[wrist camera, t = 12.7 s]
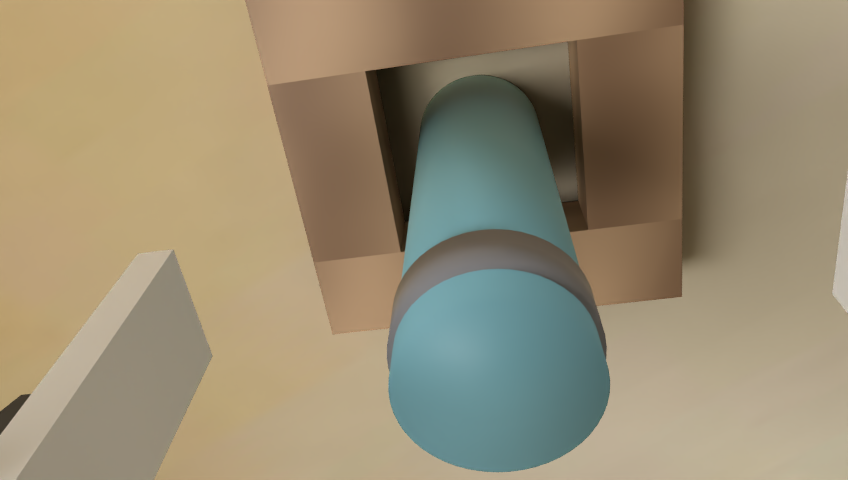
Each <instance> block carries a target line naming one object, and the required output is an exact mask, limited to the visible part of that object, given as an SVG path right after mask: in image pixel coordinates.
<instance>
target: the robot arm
mask: <svg viewBox="0 0 848 480" xmlns="http://www.w3.org/2000/svg"><path fill="white" fill-rule="evenodd" d="M832 294H833V296H834V297H835V298H836V299H837V301H838V302H839V303H840V304H841V306H842V307H843V308H844V310H845V311H846V312H847V313H848V173H847V181H846V189H845V197H844V205H843V213H842V221H841V229H840V236H839V244H838V252H837V260H836V268H835V276H834V284H833V292H832ZM211 358H212V353H211V351H210V348H209V345H208V343H207V340H206V337H205V334H204V332H203V329H202V326H201V323H200V321H199V318H198V315H197V313H196V310H195V307H194V304H193V302H192V299H191V296H190V294H189V291H188V288H187V285H186V283H185V280H184V277H183V275H182V272H181V269H180V266H179V264H178V261H177V258H176V255H175V253H174V250H173V249H172V250H163V251H155V252H147V253H138V254H137V256H136V257H135V258H134V259H133V261H132V262H131V263H130V265H129V266H128V267H127V269H126V270H125V271H124V273H123V274H122V275H121V277H120V278H119V279H118V281H117V282H116V283H115V284H114V286H113V287H112V288H111V290H110V291H109V292H108V294H107V295H106V296H105V298H104V299H103V300H102V302H101V303H100V304H99V306H98V307H97V308H96V309H95V311H94V312H93V313H92V315H91V316H90V317H89V319H88V320H87V321H86V323H85V324H84V325H83V327H82V328H81V329H80V331H79V332H78V333H77V335H76V336H75V337H74V338H73V340H72V341H71V342H70V344H69V345H68V346H67V348H66V349H65V350H64V352H63V353H62V354H61V356H60V357H59V358H58V360H57V361H56V362H55V363H54V365H53V366H52V367H51V369H50V370H49V371H48V373H47V374H46V375H45V377H44V378H43V379H42V381H41V382H40V383H39V385H38V386H37V387H36V388H35V390H34V391H33V392H32V394H26V395H21V396H19V397H18V398H17V399H16V400H14V401H13V402H12V403H10V404H9V405H8V406H7V407H5V408H4V409H3V410H2V411H0V480H154V478H155V476H156V474H157V472H158V470H159V468H160V465H161V463H162V461H163V459H164V457H165V455H166V453H167V451H168V449H169V446H170V444H171V442H172V440H173V438H174V436H175V434H176V432H177V430H178V427H179V425H180V423H181V421H182V419H183V417H184V415H185V413H186V411H187V408H188V406H189V404H190V402H191V400H192V398H193V396H194V394H195V392H196V389H197V387H198V385H199V383H200V381H201V379H202V377H203V375H204V373H205V370H206V368H207V366H208V364H209V362H210V360H211Z"/></svg>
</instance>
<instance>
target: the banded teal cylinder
mask: <svg viewBox="0 0 848 480" xmlns="http://www.w3.org/2000/svg"><path fill="white" fill-rule="evenodd" d="M606 347H607V346H606V339H605V333H604V330H603V327H602V323H601V320H600V316H599V313H598V310H597V306H596V303H595V299H594V296H593V293H592V290H591V286H590V284H589V282H588V280H587V278H586V276H585V274H584V273H583V271H582V270H581V268H580V267H579V263H578V260H577V256H576V253H575V249H574V246H573V242H572V238H571V235H570V231H569V228H568V224H567V221H566V217H565V214H564V210H563V207H562V203H561V200H560V196H559V192H558V189H557V185H556V182H555V178H554V175H553V171H552V168H551V164H550V161H549V157H548V153H547V150H546V146H545V143H544V139H543V136H542V132H541V129H540V125H539V122H538V118H537V115H536V112H535V109H534V107H533V105H532V103H531V102H530V100H529V99H528V97H527V96H526V95H525V94H524V93H523V92H522V91H521V90H520V89H519V88H518V87H516V86H515V85H513V84H512V83H510V82H508V81H506V80H503V79H500V78H497V77H493V76H485V75H477V76H469V77H464V78H461V79H458V80H456V81H454V82H452V83H450V84H448V85H447V86H445V87H444V88H442V89H441V90H440V91H439V92H438V93H437V94H436V95H435V96H434V97H433V98H432V100H431V101H430V103H429V104H428V106H427V108H426V110H425V112H424V115H423V118H422V122H421V128H420V136H419V144H418V152H417V160H416V168H415V176H414V184H413V192H412V200H411V208H410V216H409V223H408V231H407V239H406V247H405V255H404V263H403V271H402V279H401V281H400V283H399V285H398V288H397V291H396V294H395V297H394V302H393V308H392V315H391V322H390V329H389V337H388V344H387V361H388V368H389V372H390V374H389V398H390V403H391V407H392V410H393V413H394V415H395V417H396V419H397V421H398V423H399V424H400V426H401V427H402V429H403V430H404V432H405V433H406V434H407V435H408V436H409V437H410V438H411V439H412V440H413V441H414V442H415V443H416V444H417V445H418V446H420V447H421V448H422V449H423V450H425V451H426V452H428V453H429V454H431V455H433V456H434V457H436V458H438V459H440V460H442V461H445V462H447V463H450V464H453V465H455V466H459V467H462V468H466V469H471V470H477V471H485V472H511V471H518V470H525V469H529V468H533V467H537V466H540V465H543V464H546V463H549V462H551V461H553V460H555V459H557V458H560V457H561V456H563V455H565V454H566V453H568V452H570V451H571V450H573V449H574V448H575V447H577V446H578V445H579V444H580V443H582V442H583V441H584V440H585V439H586V438H587V437H588V436H589V435H590V434H591V432H592V431H593V430H594V428H595V427H596V426H597V425H598V423H599V421H600V419H601V418H602V416H603V414H604V411H605V409H606V406H607V403H608V398H609V393H610V377H609V370H608V366H607V362H606Z"/></svg>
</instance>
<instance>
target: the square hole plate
mask: <svg viewBox="0 0 848 480" xmlns="http://www.w3.org/2000/svg"><path fill="white" fill-rule="evenodd" d="M245 2H246V6H247V9H248V13H249V17H250V21H251V25H252V28H253V32H254V36H255V40H256V44H257V48H258V51H259V55H260V59H261V63H262V67H263V70H264V74H265V78H266V82H267V86H268V89H269V93H270V97H271V101H272V105H273V109H274V112H275V116H276V120H277V124H278V128H279V131H280V135H281V139H282V143H283V147H284V151H285V154H286V158H287V162H288V166H289V170H290V173H291V177H292V181H293V185H294V189H295V193H296V196H297V200H298V204H299V208H300V212H301V215H302V219H303V223H304V227H305V231H306V234H307V238H308V242H309V246H310V250H311V254H312V257H313V261H314V265H315V269H316V273H317V276H318V280H319V284H320V288H321V292H322V296H323V299H324V303H325V307H326V311H327V315H328V318H329V322H330V326H331V330H332V334H340V333H349V332H358V331H368V330H377V329H386V328H390V322H391V315H392V308H393V302H394V297H395V294H396V291H397V288H398V285H399V283H400V281H401V279H402V271H403V263H404V255H405V247H406V239H407V231H408V223H409V222H405V221H404V215H403V210H402V205H401V200H400V194H399V189H398V184H397V179H396V173H395V168H394V163H393V158H392V152H391V147H390V142H389V136H388V131H387V126H386V121H385V115H384V110H383V105H382V100H381V94H380V89H379V84H378V79H377V73H376V70H377V69H383V68H390V67H397V66H404V65H411V64H418V63H424V62H431V61H438V60H445V59H452V58H459V57H466V56H472V55H479V54H486V53H493V52H500V51H507V50H513V49H520V48H527V47H534V46H541V45H548V44H555V43H561V42H568V50H569V66H570V81H571V96H572V111H573V126H574V142H575V157H576V172H577V187H578V201H572V202H564V203H562V207H563V210H564V214H565V217H566V221H567V224H568V228H569V231H570V235H571V238H572V242H573V246H574V249H575V253H576V256H577V260H578V263H579V267H580V268H581V270H582V271H583V273H584V274H585V276H586V278H587V280H588V282H589V284H590V286H591V290H592V293H593V296H594V299H595V303H596V306H600V305H609V304H619V303H628V302H637V301H647V300H656V299H665V298H674V297H682V185H683V38H684V0H245Z"/></svg>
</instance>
